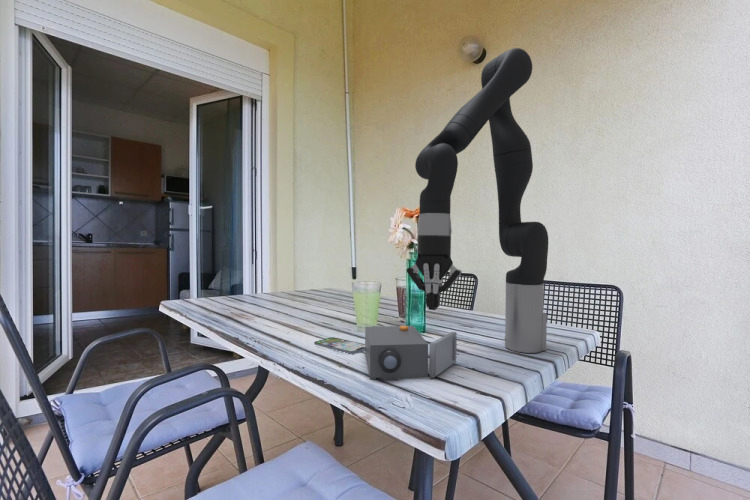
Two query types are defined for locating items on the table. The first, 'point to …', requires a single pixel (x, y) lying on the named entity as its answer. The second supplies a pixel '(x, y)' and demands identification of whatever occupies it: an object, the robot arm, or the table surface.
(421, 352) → the camera body
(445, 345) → the side door
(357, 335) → the table surface
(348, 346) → the smartphone
